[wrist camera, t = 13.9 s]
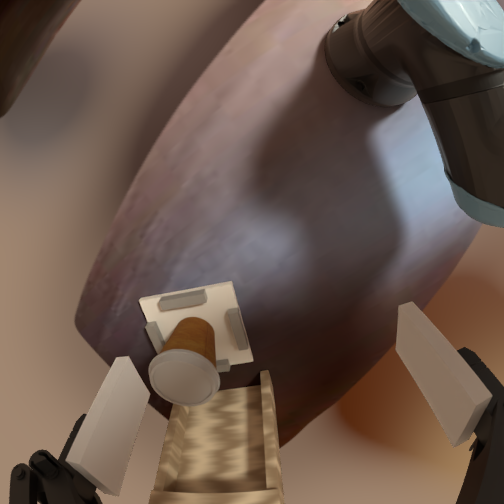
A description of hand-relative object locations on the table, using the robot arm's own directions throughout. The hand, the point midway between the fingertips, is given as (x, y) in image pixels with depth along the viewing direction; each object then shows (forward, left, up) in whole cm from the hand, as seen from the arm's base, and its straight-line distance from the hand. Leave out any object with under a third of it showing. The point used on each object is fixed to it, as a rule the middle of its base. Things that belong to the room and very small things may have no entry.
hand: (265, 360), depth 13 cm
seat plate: (+13, +16, -29) cm, 35 cm away
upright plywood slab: (+12, +30, -29) cm, 43 cm away
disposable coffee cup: (+13, +16, -28) cm, 34 cm away
